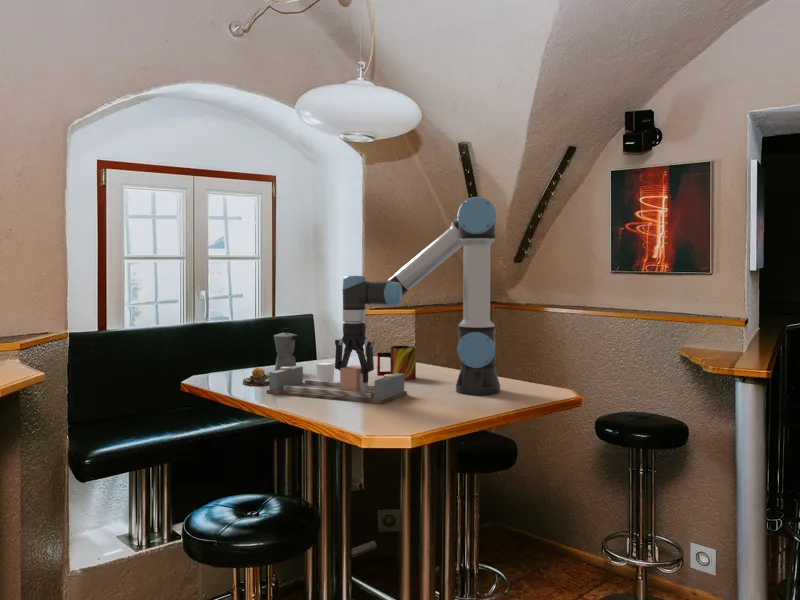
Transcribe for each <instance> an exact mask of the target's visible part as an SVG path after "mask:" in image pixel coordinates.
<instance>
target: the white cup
mask: <svg viewBox="0 0 800 600" xmlns="http://www.w3.org/2000/svg"><path fill="white" fill-rule="evenodd" d="M315 368H316V375H317V381H329V382H334V381H335V380H334V377H335V362H330V361H329V362H326V361H324V362H317V363H316V364H315Z"/></svg>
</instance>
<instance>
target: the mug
mask: <svg viewBox="0 0 800 600" xmlns="http://www.w3.org/2000/svg"><path fill="white" fill-rule="evenodd" d="M416 348H417V347H416V346H414V345H392V346H390V348H389V349H390V351H389V352H377V353H376V355H377V365H376V366H377V367H376V370H377V371H376V373H377V374H376V376H377V377H379V376H380V377H382V376H383V377H384V375H386V374H395V373H401V374H404V381H412V380H416V378H417V377H416V375H417V372H416V371H417V370H416V369H417V367H416V364H417V362H416V361H417V360H416V359H417V358H416V357H417V350H416ZM381 358H389V359H390V360H389V361H390V363H389V364H390V365H389V366H390V370H389V371H387V370H386V371H383V370H382V371H381Z"/></svg>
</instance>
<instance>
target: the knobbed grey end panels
mask: <svg viewBox="0 0 800 600" xmlns="http://www.w3.org/2000/svg"><path fill="white" fill-rule="evenodd" d="M303 369H304V367H303V366H301V365H296V366H293V367H281V370H277V371H275V370H272V371H270V372H268V373H269V374H268V376H269V385H268V386H269V389H270V390H280V389H284V386H294V385H298V384H301V383H303V382H304V378H303V377H304V374H303V371H304V370H303ZM374 385H375V400H385V399H387V398H390V397H392V396H395V395H397V394H400V393H402V392H404V391H405V380H404V374H401V373H395V374H386V375H384V376H383V377H382V378H379V379H375V380H374Z"/></svg>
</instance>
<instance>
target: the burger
mask: <svg viewBox="0 0 800 600" xmlns="http://www.w3.org/2000/svg"><path fill="white" fill-rule="evenodd" d="M242 384H243V385H246V386H247V385H248V386H249V387H250V386H252V387H262V386H263V387H264V386H270V385H269V372H268V373H267V374H266V373H265V370H264V369H263V368H262V367H255V368H254V369H253V370H252V372H251V375H250V376H249V377H246V378H243V380H242Z"/></svg>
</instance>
